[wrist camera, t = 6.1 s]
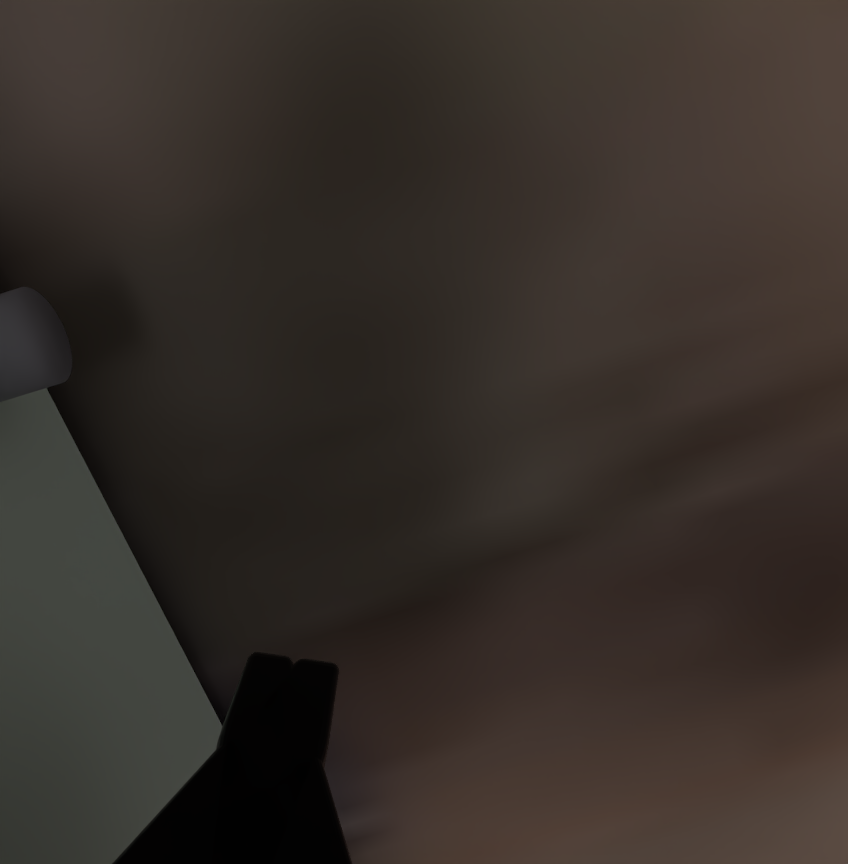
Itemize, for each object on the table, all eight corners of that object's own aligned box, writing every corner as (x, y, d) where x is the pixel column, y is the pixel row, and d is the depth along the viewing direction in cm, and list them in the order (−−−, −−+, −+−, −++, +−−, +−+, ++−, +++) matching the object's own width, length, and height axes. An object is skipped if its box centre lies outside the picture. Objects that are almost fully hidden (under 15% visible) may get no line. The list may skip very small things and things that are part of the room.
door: (368, 874, 13) (364, 1548, 7) (266, 901, 14) (173, 1588, 7) (17, 124, 9) (-928, 185, 2) (-138, 175, 9) (-1438, 361, 2)
